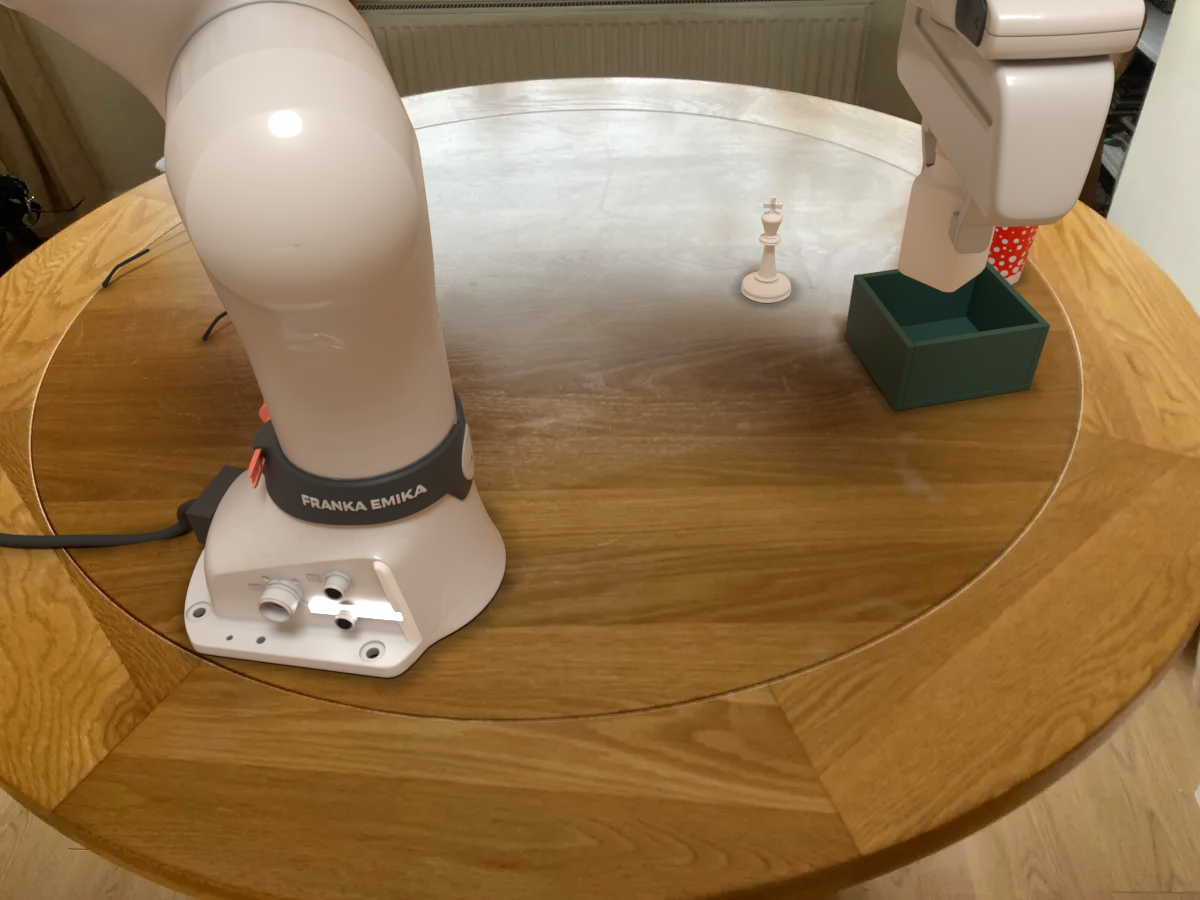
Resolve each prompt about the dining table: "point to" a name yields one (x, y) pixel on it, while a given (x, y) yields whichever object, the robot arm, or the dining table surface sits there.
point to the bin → (943, 337)
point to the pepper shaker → (937, 230)
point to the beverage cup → (1011, 250)
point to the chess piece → (768, 262)
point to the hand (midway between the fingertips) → (951, 219)
